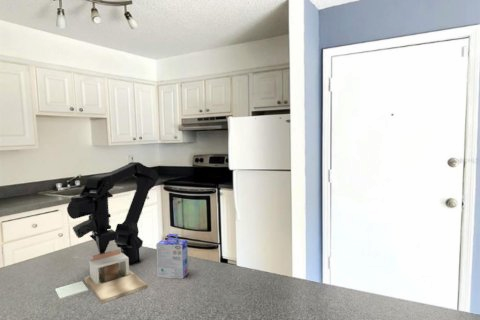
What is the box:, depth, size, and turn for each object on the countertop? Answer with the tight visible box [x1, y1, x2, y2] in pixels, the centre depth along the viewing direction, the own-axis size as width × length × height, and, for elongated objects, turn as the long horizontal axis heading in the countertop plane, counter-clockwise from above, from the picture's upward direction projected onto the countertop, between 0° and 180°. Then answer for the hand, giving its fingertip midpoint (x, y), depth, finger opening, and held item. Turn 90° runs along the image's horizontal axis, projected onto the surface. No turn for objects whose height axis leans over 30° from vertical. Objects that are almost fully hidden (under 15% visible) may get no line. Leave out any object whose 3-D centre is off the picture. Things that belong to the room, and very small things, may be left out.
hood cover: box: [88, 248, 130, 284], centre depth 107 cm, size 11×7×7 cm, turn 130°
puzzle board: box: [83, 267, 148, 304], centre depth 103 cm, size 14×20×1 cm
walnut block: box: [100, 263, 119, 282], centre depth 107 cm, size 4×4×6 cm
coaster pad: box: [54, 280, 89, 300], centre depth 99 cm, size 8×8×1 cm
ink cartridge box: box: [155, 233, 189, 279], centre depth 109 cm, size 10×6×14 cm, turn 81°
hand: (101, 255), depth 109 cm, fingers closed
